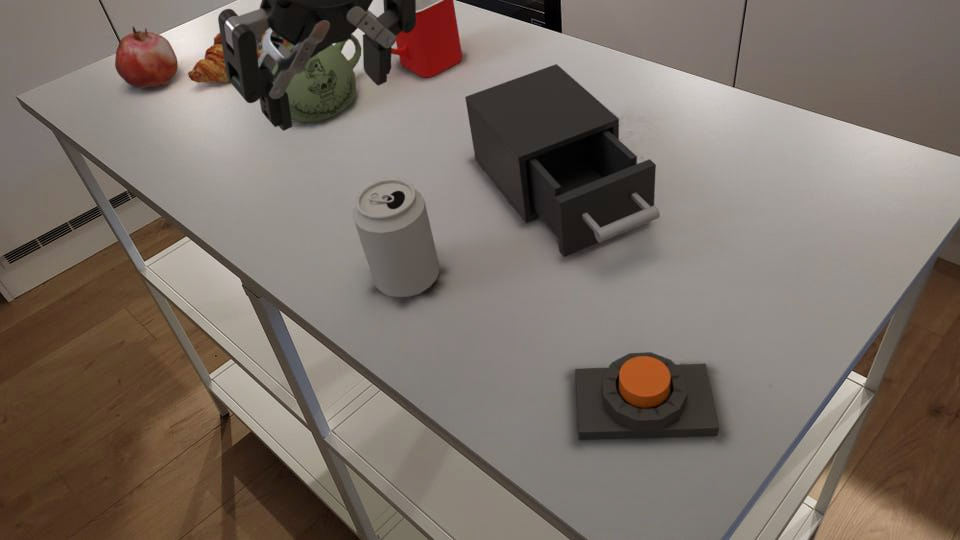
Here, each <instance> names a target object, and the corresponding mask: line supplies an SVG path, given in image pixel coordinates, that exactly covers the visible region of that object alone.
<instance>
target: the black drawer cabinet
mask: <svg viewBox="0 0 960 540" xmlns="http://www.w3.org/2000/svg"><path fill="white" fill-rule="evenodd" d="M464 98H465V104H466V110H467V117H468V123H469V129H470V135H471V140H472V147H473V153H474V159H475V162H476V163H477V164H478V166H479V167H480V168H481V169H482V170H483V172H484V174H486V175H487V177H488V178H489V179H490V180H491V182H492V183H493V184H494V185H495V187H496V188H497V189H498V191H499V192H500V193H501V195H503V196H504V198H505V199H506V200H507V201H508V203H509V204H510V205H511V206H512V208H513V209H514V210H515V212H516V213H517V214H518V215H519V217H520V218H521V219H522V220H523V221H524V223H525V224H528V223H531V222H533V221H535V220H537V219H541V218H540V217H539V216H538V214H537V213H536V212H535V211H534V209H533V208H532V207H531V206H530V200H529V190H528V181H527V172H526V162H525V161H526V160H528V159H531V158H533V157H536V156H539V155H541V154H544V153H546V152H549V151H552V150H554V149H557V148H559V147H562V146H565V145H567V144H570V143H572V142H575V141H578V140H580V139H583V138H585V137H588V136H590V135H593V134H596V133H598V132H601V131H603V130H606V129H607V130H609V131H610V132H611V133H612V134H613V135H614V136H615V137H616V138H617V139H618V140H620V118H619V117H618V116H616V115H615V114H614V112H612V111H611V110H610V109H608V108H607V107H606V106H605V105H604V104H603V103H602V102H600V100H599V99H597V98H596V97H595V96H594V95H592V93H591V92H589V91H588V90H587V89H586V88H585V87H584V86H582V84H580V83H579V82H578V81H577V80H576V79H574V78H573V76H571V75H570V74H569V73H567V71H566V70H564V69H563V68H562V67H560V65H559V64H557V63H555V64H552V65H550V66H547V67H544V68H541V69H539V70H536V71H533V72H531V73H527V74H525V75H522V76H520V77H517V78H514V79H511V80H508V81H506V82H502V83H500V84H496V85H495V86H491V87H489V88H486V89H483V90H480V91H478V92H477V91H476V92H475V93H472V94H469V95H466V96H465V97H464Z"/></svg>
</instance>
